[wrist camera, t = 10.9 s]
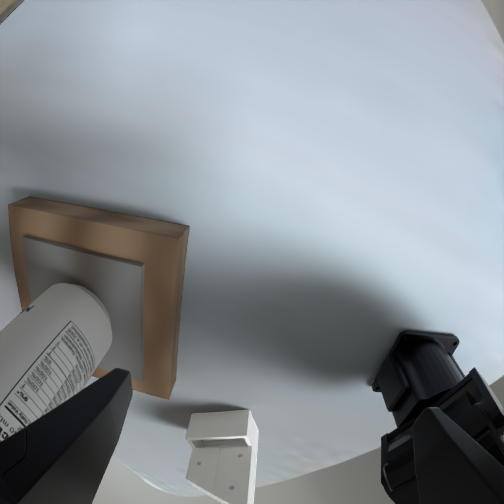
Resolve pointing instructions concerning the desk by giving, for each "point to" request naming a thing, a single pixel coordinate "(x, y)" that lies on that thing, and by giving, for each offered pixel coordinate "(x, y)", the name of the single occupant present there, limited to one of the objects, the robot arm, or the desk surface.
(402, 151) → the desk surface
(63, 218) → the brown square frame
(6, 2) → the book
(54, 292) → the energy drink can
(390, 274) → the desk surface
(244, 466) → the white angled block
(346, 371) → the desk surface
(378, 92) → the desk surface
